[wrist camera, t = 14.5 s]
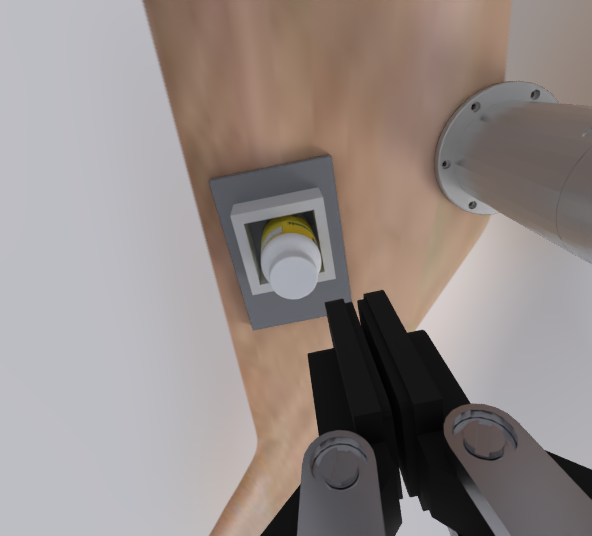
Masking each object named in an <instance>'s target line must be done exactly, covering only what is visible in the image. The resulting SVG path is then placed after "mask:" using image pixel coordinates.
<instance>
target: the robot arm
mask: <svg viewBox="0 0 592 536" xmlns="http://www.w3.org/2000/svg"><path fill="white" fill-rule="evenodd" d="M472 104H473V108H472V109H471V106H472ZM444 161H445V163H444V165H442V163H443V162H444ZM435 172H436V178H437V181H438V184H439V186H440V189H441V190H442V192H443V193H444V195H445V196H446V197H447V198H448V199H449V200H450V201H451V202H452V203H453V204H455V205H456V206H458V207H459V208H461V209H463V210H465V211H467V212H470V213H475V214H480V215H489V214H496V213H502V214H504V215H505V216H507V217H509V218H511V219H512V220H514V221H516V222H518V223H519V224H521V225H523V226H525V227H527V228H528V229H530V230H532V231H533V232H535V233H537V234H539V235H541V236H542V237H544V238H546V239H548V240H549V241H551V242H553V243H555V244H556V245H558V246H560V247H562V248H563V249H565V250H567V251H569V252H571V253H572V254H574V255H576V256H578V257H580V258H581V259H583V260H585V261H587V262H589V263H591V264H592V106H583V105H571V104H559V102H558V101H557V99H556V98H555V97H554V96H553V94H552V93H550V92H549V91H548V90H546V89H545V88H543V87H541V86H539V85H536V84H533V83H530V82H522V81H509V82H503V83H498V84H494V85H492V86H489V87H487V88H484V89H482V90H480V91H479V92H477V93H476V94H474V95H473V96H471V97H470V98H468V99H467V100H466V101H465V102H464V103H463V104H462V105H461V106H459V108H458V109H457V110H456V111H455V112H454V114H453V115H452V116H451V117H450V119H449V120H448V122H447V124H446V126H445V127H444V129H443V131H442V133H441V136H440V138H439V141H438V144H437V149H436V154H435ZM469 203H470V204H469ZM324 303H325V308H326V313H327V318H328V323H329V328H330V333H331V337H332V342H333V347H334V348H332V349H327V350H322V351H317V352H313V353H308V362H309V369H310V376H311V383H312V390H313V397H314V404H315V411H316V419H317V426H318V433H319V437H318V438H316V439H315V440H314V441H313V442H312V443H311V444H310V445H309V447H308V449H307V450H306V452H305V454H304V458H303V463H302V474H301V484H300V485H299V487H298V488H297V489H296V491H295V492H294V493H293V494H292V496H291V497H290V498H289V499H288V501H287V502H286V503H285V505H284V506H283V507H282V508H281V510H280V511H279V512H278V514H277V515H276V516H275V517H274V519H273V520H272V521H271V523H270V524H269V525H268V526H267V528H266V529H265V530H264V532H263V533H262V534H261V535H260V536H395V535H396V533H397V531H398V529H399V527H400V525H401V524H402V517H401V510H400V502H399V499H402V498H403V495H402V487H401V479H400V471H401V474H402V477H403V480H404V483H405V486H406V489H407V492H408V494H409V496H410V497H414V496H418V498H419V501H420V504H421V506H422V509H423V511H426V510H429V511H430V513H431V516H432V517H433V518H435V519H436V520H438V521H439V522H441V523H443V524H444V525H446V526H447V527H448V529H449V532H450V535H451V536H592V470H591V469H589V468H586V467H584V466H581V465H579V464H577V463H574V462H572V461H570V460H567V459H564V458H562V457H560V456H558V455H555V454H553V453H550V452H548V451H546V450H544V449H543V448H542V447H541V446H540V445H539V444H538V443H537V442H536V441H535V440H534V439H533V438H532V436H530V434H529V433H528V432H527V431H526V430H525V429H524V428H523V427H522V426H521V425H520V424H519V423H518V422H517V421H516V420H515V419H514V418H512V417H511V416H510V415H509V414H508V413H506V412H504V411H502V410H500V409H498V408H496V407H492V406H488V405H485V404H471V403H470V402H469V400H468V398H467V397H466V395H465V394H464V392H463V390H462V389H461V387H460V386H459V384H458V382H457V381H456V379H455V378H454V376H453V374H452V373H451V371H450V370H449V368H448V366H447V365H446V363H445V362H444V360H443V358H442V357H441V355H440V354H439V352H438V350H437V349H436V347H435V346H434V344H433V342H432V341H431V339H430V338H429V336H428V335H427V333H426V332H425V331H424V330H419V331H414V332H409V333H407V332H406V330H405V328H404V327H403V325H402V323H401V321H400V319H399V317H398V316H397V314H396V312H395V310H394V308H393V306H392V305H391V303H390V301H389V299H388V297H387V295H386V294H385V292H384V290H380V291H375V292H371V293H366V294H364V299H362V300H358V301H357V303H358V310H359V316H360V322H359V319H358V317H357V314H356V311H355V309H354V306H353V303H352V302H348V303H345V302H344V299H343V298H342V299H338V300H333V301H328V302H324ZM360 323H361V325H360ZM399 468H400V471H399Z"/></svg>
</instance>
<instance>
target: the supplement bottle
mask: <svg viewBox="0 0 592 536" xmlns="http://www.w3.org/2000/svg"><path fill="white" fill-rule="evenodd" d="M261 268H262V272H263V274H264V276H265V278H266V279H267V281H268V282H269V283H270V285H271V287H272V289H273V290H274V292H275V293H276V294H278V295H279V296H281V297H283V298H286V299H300V298H303V297H305V296H307V295H308V294H310V293H311V292H312V291H313V289H314V288H315V286H316V284H317V281H318V274H319V272H320V269H321V254H320V250H319V248H318V245H317V241H316V238H315V235H314V232H313V229H312V227H311V225H310V223H309V222H308V220H307V219H306V218H304V217H303V216H302V215H300V214H297V213H296V214H291V215H286V216H281V217H276V218H271V219H269V220H268V221H267V223H266V224H265V226H264V228H263V231H262V237H261Z"/></svg>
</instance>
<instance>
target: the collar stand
mask: <svg viewBox="0 0 592 536" xmlns="http://www.w3.org/2000/svg"><path fill="white" fill-rule="evenodd" d="M209 184H210V187H211V191H212V194H213V197H214V201H215V204H216V208H217V211H218V214H219V218H220V221H221V224H222V228H223V231H224V235H225V238H226V241H227V245H228V248H229V251H230V255H231V258H232V261H233V265H234V268H235V272H236V275H237V278H238V282H239V285H240V288H241V292H242V295H243V298H244V302H245V305H246V309H247V312H248V315H249V319H250V322H251V325H252V329H253V330H257V329H263V328H268V327H273V326H278V325H283V324H288V323H293V322H298V321H303V320H308V319H314V318H319V317H324V316H327V313H326V308H325V303H324V302H328V301H333V300H338V299H342V298H343V299H344V302H345V303H348V302H352V300H351V293H350V286H349V279H348V271H347V264H346V257H345V250H344V243H343V236H342V229H341V221H340V214H339V207H338V200H337V193H336V186H335V178H334V171H333V164H332V157H331V155H330V154H329V155H324V156H319V157H314V158H309V159H305V160H300V161H295V162H290V163H285V164H280V165H275V166H271V167H266V168H261V169H256V170H251V171H246V172H241V173H237V174H232V175H227V176H222V177H217V178H212V179H210V180H209ZM296 213H297V214H300V215H302V216H303V217H304V218H306V219H307V220H308V222H309V223H310V225H311V227H312V229H313V232H314V235H315V238H316V241H317V245H318V248H319V250H320V254H321V269H320V272H319V274H318V281H317V284H316V286H315V288H314V289H313V291H312V292H311V293H310V294H308V295H307V296H305V297H303V298H300V299H286V298H283V297H281V296H279V295H278V294H276V293H275V292H274V290H273V289H272V287H271V285H270V283H269V282H268V281H267V279H266V278H265V276H264V274H263V272H262V268H261V237H262V231H263V228H264V226H265V224H266V223H267V221H268V220H269V219H271V218H276V217H281V216H286V215H291V214H296Z"/></svg>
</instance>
